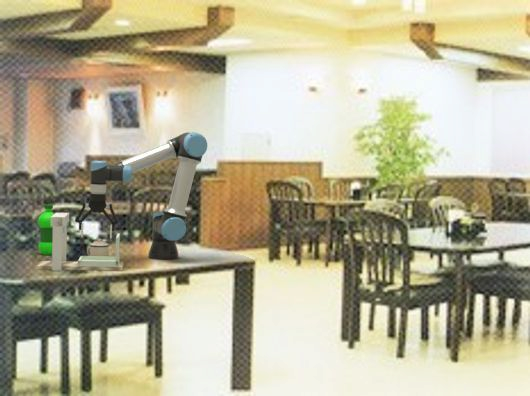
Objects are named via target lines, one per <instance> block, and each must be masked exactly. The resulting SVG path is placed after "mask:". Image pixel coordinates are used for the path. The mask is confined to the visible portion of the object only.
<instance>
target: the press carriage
mask: <svg viewBox="0 0 530 396" xmlns="http://www.w3.org/2000/svg"><path fill="white" fill-rule="evenodd" d="M120 246H121V233H120V232H119V233H118V232H117V233H116V237H115V256H109V255H108V256H89V255H80V256H79V258H78V260H77V261H78V266H84V267H118V265H119V262H120V249H121V247H120Z"/></svg>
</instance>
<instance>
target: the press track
mask: <svg viewBox="0 0 530 396" xmlns="http://www.w3.org/2000/svg"><path fill="white" fill-rule="evenodd" d="M124 265H125V264H124V261H119V265H118V267H84V266H78V260H77V261H71V260H70V261H67V260H66V261H62V270H63V271H65V270H67V271H68V270H69V271H117V270H119V271H120V272H122V271H123V269H124ZM36 269H37V270H49V269H51V271H52V260H41V261H40V262H39V263H38V264H37V265H36ZM62 270H61V271H62Z"/></svg>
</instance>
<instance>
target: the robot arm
mask: <svg viewBox="0 0 530 396" xmlns="http://www.w3.org/2000/svg"><path fill="white" fill-rule="evenodd" d="M206 151H208V141H207V139H206V137H205V136H204V135H202V134H201V133H199V132H193V131H191V132H184V133H182V134H179V135H178V136H175V137H173V138H171V139H169V140H167V141H166V143H164V144H162V145H161V144H160V145H159V146H156V147H154V148H152V149H149V150H146V151H143V152H141V153H138V154H136V155H134V156H131V157H128V158H126V159H123V160H120V161H119V162H116V163H112V164H108V161H105V160H92V161H91V165H90V186H89V192H90V193H89V202H88V203H86V202H83V203H82V206H81V207H82V208H81V209H80V211H79V213H78V215H76V216H77V217H76V218H75V220H74V221H75V222H76V223H78V230H79V231H80V238H83V237H84V223H83V222H84V221H85V220H86V218H87V217H88V216H90V215H91V214H92V212H93V213H98V214H101V213H103V215H104V216H105V217H106V218H107V220H108V221H109V222H110V225H109V227H110V229H109V239H112V238H113V232H114V231H115V225H116V224H119V220H118V217H117V215H116V213H115V210H114V209H113V204H112V203H108V204H107V201H106V200H107V194H106V193H107V183H108V182H120V183H121V182H124V183H126V182H131V181H132V178H133V174H134V173H136V172H139V171H141V170H143V169H146V168H149V167H152V166H154V165H156V164H159V163H162V162H164V161H166V160H169V159H172V158H173V159H177V158H178V160H179V163H178V167H177V171H176V175H175V178H174V183H173V187H172V191H171V193H170V198H169V202H168V206H167V208H165V209H164V210H163V212H162V211H161V212H157V211H156V212H154V213H153V214H152V238H151V239H152V241H151V245H150V247H149V251H148V256H147V257H148V258H149V259H152V258H155V260H172V259H171V258H177V259H179V250H178V246H177V244H176V241H179V240H181V239H182V238H183V237H185V234H186V232H187V225H186V221H187V218H188V217H187V216H188V215H187V213H186V209H187V205H188V200H189V196H190V193H191V189H192V184H193V181H194V178H195V173H196V171H197V166H198V165H199V164H200V163H202V160H203V156H204V155H205V154H206ZM88 207H89V210H88V211H87V212H86V213H85V215H83V217H81V216H82V214H83V213H84V211H85V209H87V208H88ZM106 208H108V209H109V211H110V213H111V215H112V217H113V218H112V217H111V216H110V215H109V214H108V212H107V211H106ZM80 218H81V219H80ZM113 219H114V220H113Z"/></svg>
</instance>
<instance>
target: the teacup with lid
mask: <svg viewBox="0 0 530 396" xmlns="http://www.w3.org/2000/svg"><path fill="white" fill-rule="evenodd" d="M109 247H110V245H109V243H106V242H105V241H103V240H102V238H97V240H95V241H93V242H91V243H90V244H89V247H87V250H86V252H87V256H109Z"/></svg>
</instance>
